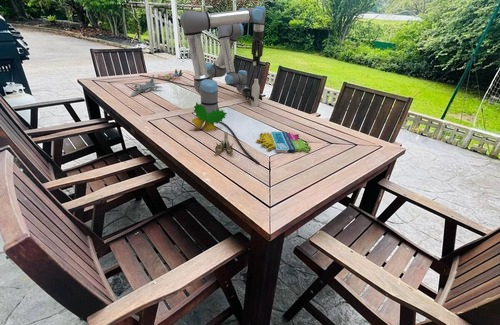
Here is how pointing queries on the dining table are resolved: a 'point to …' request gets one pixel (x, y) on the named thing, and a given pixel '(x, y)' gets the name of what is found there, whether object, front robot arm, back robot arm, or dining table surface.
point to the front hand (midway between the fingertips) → (255, 65)
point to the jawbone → (224, 145)
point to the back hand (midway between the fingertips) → (257, 99)
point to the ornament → (207, 117)
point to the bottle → (255, 93)
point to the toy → (172, 75)
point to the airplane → (145, 87)
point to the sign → (283, 142)
